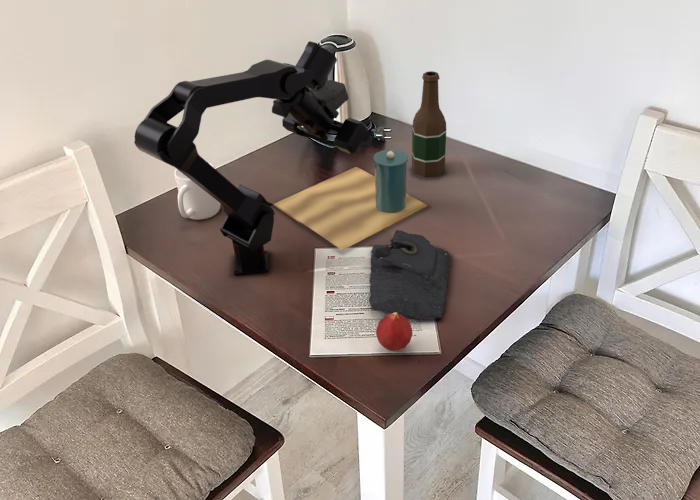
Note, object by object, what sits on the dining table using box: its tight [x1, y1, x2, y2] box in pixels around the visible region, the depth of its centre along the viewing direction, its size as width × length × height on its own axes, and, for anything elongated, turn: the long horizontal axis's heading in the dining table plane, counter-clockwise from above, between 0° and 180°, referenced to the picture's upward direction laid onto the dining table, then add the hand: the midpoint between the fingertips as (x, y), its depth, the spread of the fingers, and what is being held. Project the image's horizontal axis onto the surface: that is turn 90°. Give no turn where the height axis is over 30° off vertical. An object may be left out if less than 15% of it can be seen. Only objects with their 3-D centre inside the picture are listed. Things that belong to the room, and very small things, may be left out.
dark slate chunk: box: [368, 229, 451, 320], centre depth 121 cm, size 15×22×5 cm
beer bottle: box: [411, 70, 447, 178], centre depth 148 cm, size 8×8×24 cm
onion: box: [375, 312, 413, 352], centre depth 106 cm, size 6×6×8 cm
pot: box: [372, 149, 409, 213], centre depth 139 cm, size 7×7×13 cm
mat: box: [273, 166, 428, 251], centre depth 144 cm, size 24×24×1 cm
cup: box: [173, 161, 221, 221], centre depth 141 cm, size 8×12×10 cm
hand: (342, 145), depth 137 cm, fingers open, 9 cm apart
